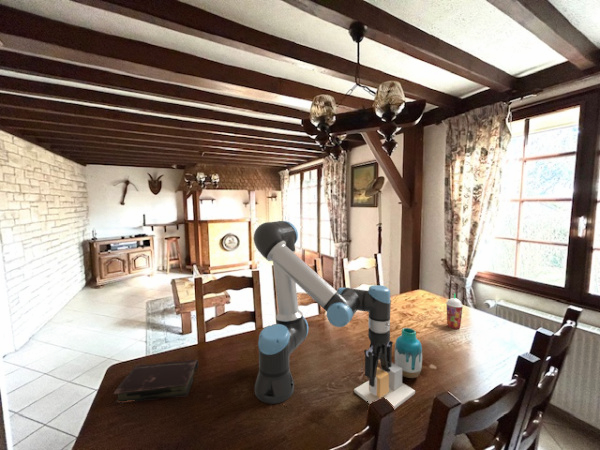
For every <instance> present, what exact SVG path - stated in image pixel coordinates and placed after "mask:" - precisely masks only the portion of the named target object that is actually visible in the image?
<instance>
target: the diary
mask: <svg viewBox="0 0 600 450" xmlns="http://www.w3.org/2000/svg"><path fill="white" fill-rule="evenodd" d="M196 369H199V360H198V359H191V360H190V359H189V360H182V361H180V360H179V361H165V362H159V363H151V364H150V363H149V364H147V363H146V364H135V366H134V367H133V368H132V369H131V370H130V371H129V373H128V374H127V375H126V376H125V377H124V379H123V380H122V381H121V383H120V384H119V385H118V386H117V387H116V389H115V390H114V392H113V395H117V399H118V401H127V400H135V401H134V402H133V403H137V402H138V401H139V402H144V401H145V402H146V401H155V400H156V401H158V400H159V399H158V398H160V399H164V397H166V398H183V397H188V396H189V393H190V390H191V387H192V385H193V382H194V379H195V377H193V376H194V374H195V372H196ZM169 396H170V397H169ZM176 396H178V397H176ZM179 396H180V397H179ZM182 396H183V397H182ZM117 399H116V400H115V401H114V402H113V404H116V403H118V402H116V401H117ZM120 404H123V403H122V402H120Z"/></svg>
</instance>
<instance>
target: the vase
mask: <svg viewBox="0 0 600 450" xmlns="http://www.w3.org/2000/svg"><path fill="white" fill-rule="evenodd" d="M394 343H395V344H394V364H396V365H398V366H399V367H401V368H402V377H404V378H408V379H415V378H417V377H419V375H420V374H421V371H422V368H423V367H422V366H423V346H422V343H421V341H420V340H419V339H418V338H417V332H416V330H415V329H414V328H410V327H403V328H402V329H401V335H399V336H398V337H397V338H396V340H395V342H394Z"/></svg>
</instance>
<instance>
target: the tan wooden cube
mask: <svg viewBox="0 0 600 450" xmlns="http://www.w3.org/2000/svg"><path fill="white" fill-rule="evenodd" d="M376 377H377V396H378V397H379V398H381V397H382V396H384V395H385V394H387V393H388V392H389V373H387V372H385V371H383V370H382V368H381V369H380V367H378V366H377V372H376ZM369 391H370V385H369Z"/></svg>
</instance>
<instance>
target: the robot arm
mask: <svg viewBox="0 0 600 450" xmlns="http://www.w3.org/2000/svg"><path fill="white" fill-rule="evenodd" d="M298 239H299V234H298V229H297V227H296V226H295V225H294V224H293V223H291V222H290V221H287V220H285V221H284V220H278V221H277V220H276V221H267V222H263V223H261V224H260V225H258V226H257V228H255V231H254V233H253V243H254V245H255V248H256V249H257V251H258V252H259V254H260V255H261V256H262V257H263V258H264V259H265V260H266V261H268V262H272V264H273V265H272V266H273V273H274V282H275V291H276V293H275V294H276V298H277V299H276V300H277V301H276V302H277V309H278V313H277V314H276V316H275V324H274V323H273V324H272V325H267V326H265V327H264V328H262V329H261V331H260V333H259V335H258V342H257V345H258V346H257V347H258V372H257V377H256V379H255V383H254V394H255V397H256V398H257V399H258V400H259V401H261V402H262V403H265V404H271V405H273V404H274V405H275V404H281V403H283V402H285V401H287V400H288V399H290V398H291V397H292V395H293V393H294V392H295V391H294V390H295V382H294V378H293V376H292V372H291V368H290V356H291V354H292V353H293V352H294V351H295V350H296V349H297V348H299V346H300V345H301V344H302V343H303V342H304V341H305V340H306V338H307V337H308V333H309V324H308V321H307V319H306V318H305V317H304V315H303V312H302V311H301V310H300V309H299V301H298V293H297V286H299V287H300V288H301V289H302V290H303V291H304V292H305V293H306V294H307V295H308V296H310V298H311V299H313V300H314V302H316V303H317V304H318V305H319V306H320V307H322V309H323V310H324V311H325V312H326V318H327V320H328V322H329V324H330V325H332V326H333V327H336V328H343V327H345V326H347V325H348V324H349V323H350V322H351V321H352V319H353V318H354V315H355V313H357V311H361V312H368V320H367V322H368V326H367V327H368V333H367V334H368V337H367V338H368V339H369V341H370V344H369V348H368V349H364V351H363V353H364V356H365V357H364V375H365V376H366V377H367V378H368V381H369V385H370V392H371V393H372V394H374V395H375V396H376V395H377V377H376V372H377V367H378V365H379V362H380V367H381V368H380V367H379V368H380V369H382V370H383V371H385V372H387V371H388V372H390V369H389V367H391V366H392V363H393V362H392V358H393V356H392V355H393V354H392V353H393V352H392V351H393V350H392V349H393V342H394V341H392V340H391V305H392V304H391V303H392V302H391V301H392V300H391V290H390V289H389V288H388V287H387V286H384V285H380V284H378V285H376V284H373V285H371V286H370V285H369V287H368V290H365V289H359V288H358V289H357V288H350V287H339V288H338V289H337V290H336V289H335V288H334V287H333V286H332V285H330V283H328V282H327V281H326V280H325V279H324V278H322V276H320V275H319V274H318V273H317V272H316V271H315V270H314V269H313V268H311V267H310V266H309V265H308V264H307V263H306V262H305V261H304V260H303V259H301V258H300V257H299V255H297V254H296V253H295V252H296V245H295V244H296V243H297V241H298ZM296 285H297V286H296Z"/></svg>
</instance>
